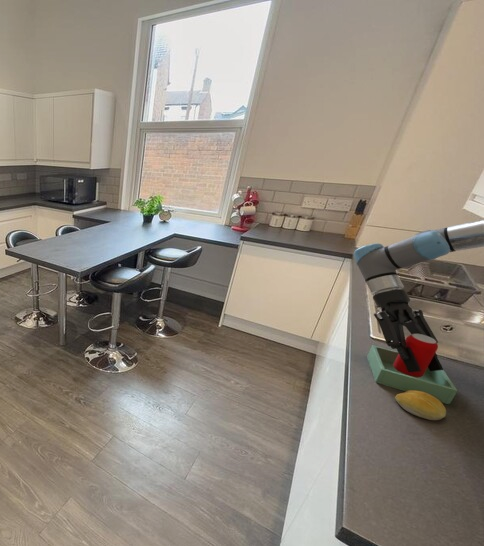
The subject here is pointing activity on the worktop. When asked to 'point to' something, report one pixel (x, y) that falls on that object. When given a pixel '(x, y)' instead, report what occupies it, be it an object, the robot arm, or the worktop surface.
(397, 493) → the worktop surface
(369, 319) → the worktop surface
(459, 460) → the worktop surface
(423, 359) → the beverage can
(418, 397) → the bread roll
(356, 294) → the worktop surface
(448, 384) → the bin
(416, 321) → the robot arm
